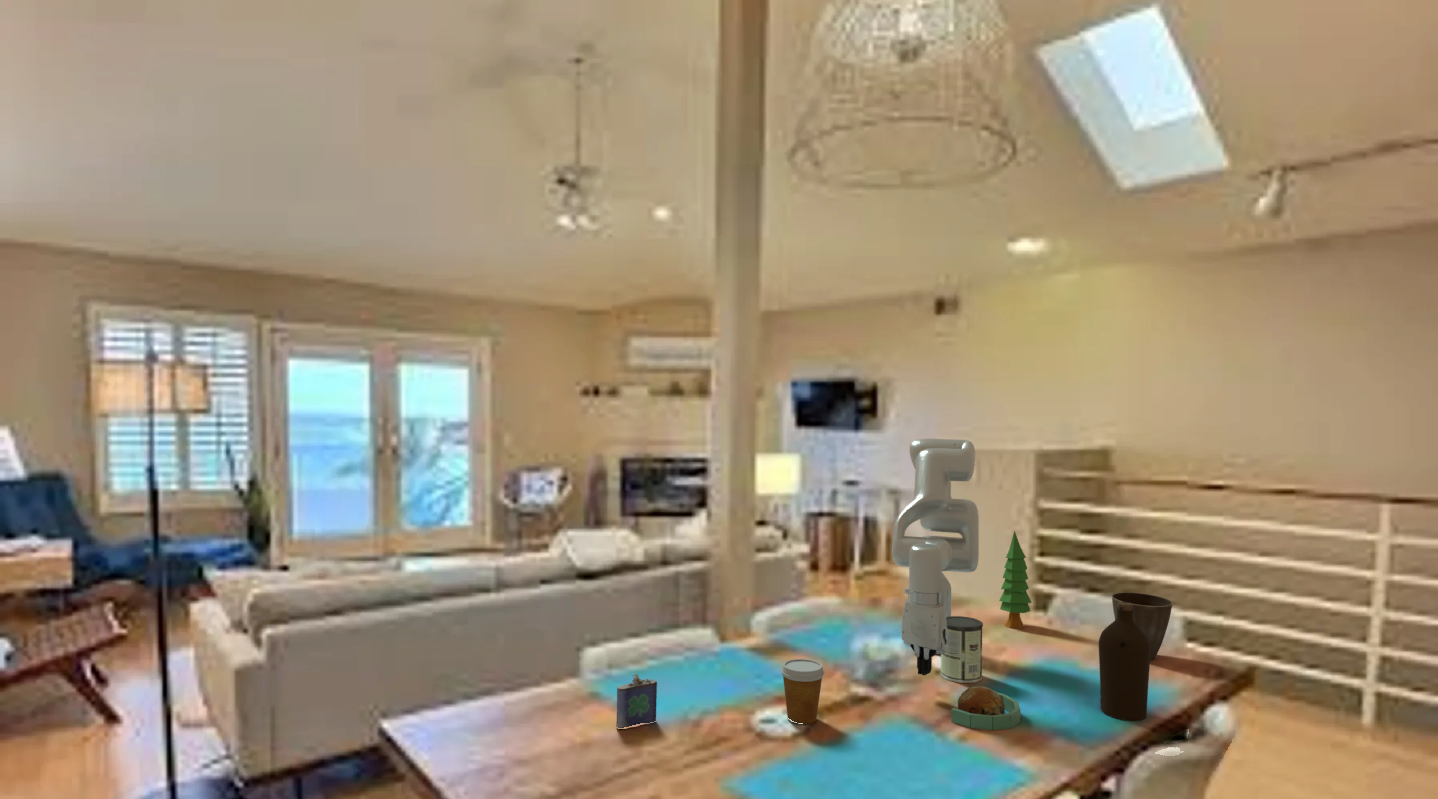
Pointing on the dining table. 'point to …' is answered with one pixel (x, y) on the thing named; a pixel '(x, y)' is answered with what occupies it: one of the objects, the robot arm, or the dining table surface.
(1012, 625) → the decorative tree
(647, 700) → the flask
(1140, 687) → the olive oil
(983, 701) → the bread roll
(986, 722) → the segmented green arc
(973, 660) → the coffee can
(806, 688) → the disposable coffee cup
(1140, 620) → the plant pot
